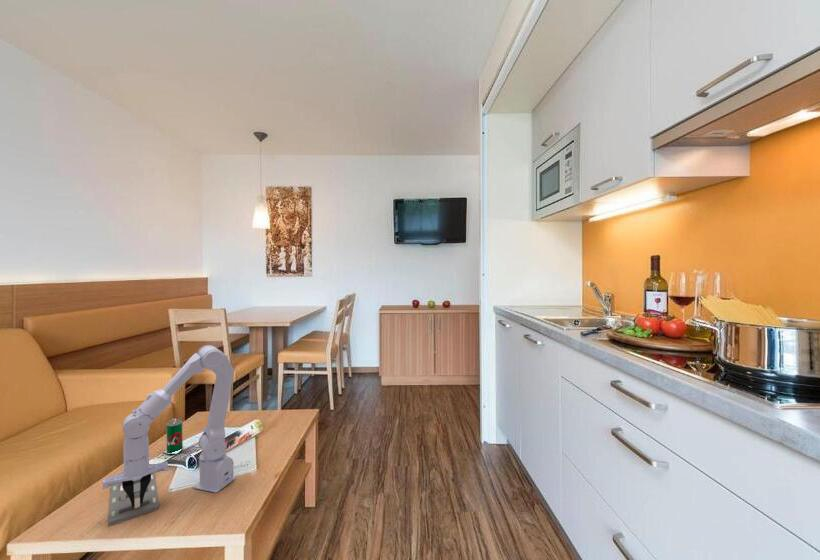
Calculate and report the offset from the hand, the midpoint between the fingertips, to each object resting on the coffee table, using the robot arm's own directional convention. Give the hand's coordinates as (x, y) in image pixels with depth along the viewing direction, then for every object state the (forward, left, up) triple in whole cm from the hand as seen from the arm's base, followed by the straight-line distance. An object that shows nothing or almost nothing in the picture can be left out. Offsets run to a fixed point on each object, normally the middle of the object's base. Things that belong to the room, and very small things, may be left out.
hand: (137, 503), depth 100 cm
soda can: (+19, -28, -2) cm, 34 cm away
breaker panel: (+6, -4, -2) cm, 8 cm away
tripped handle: (0, 0, -1) cm, 1 cm away
